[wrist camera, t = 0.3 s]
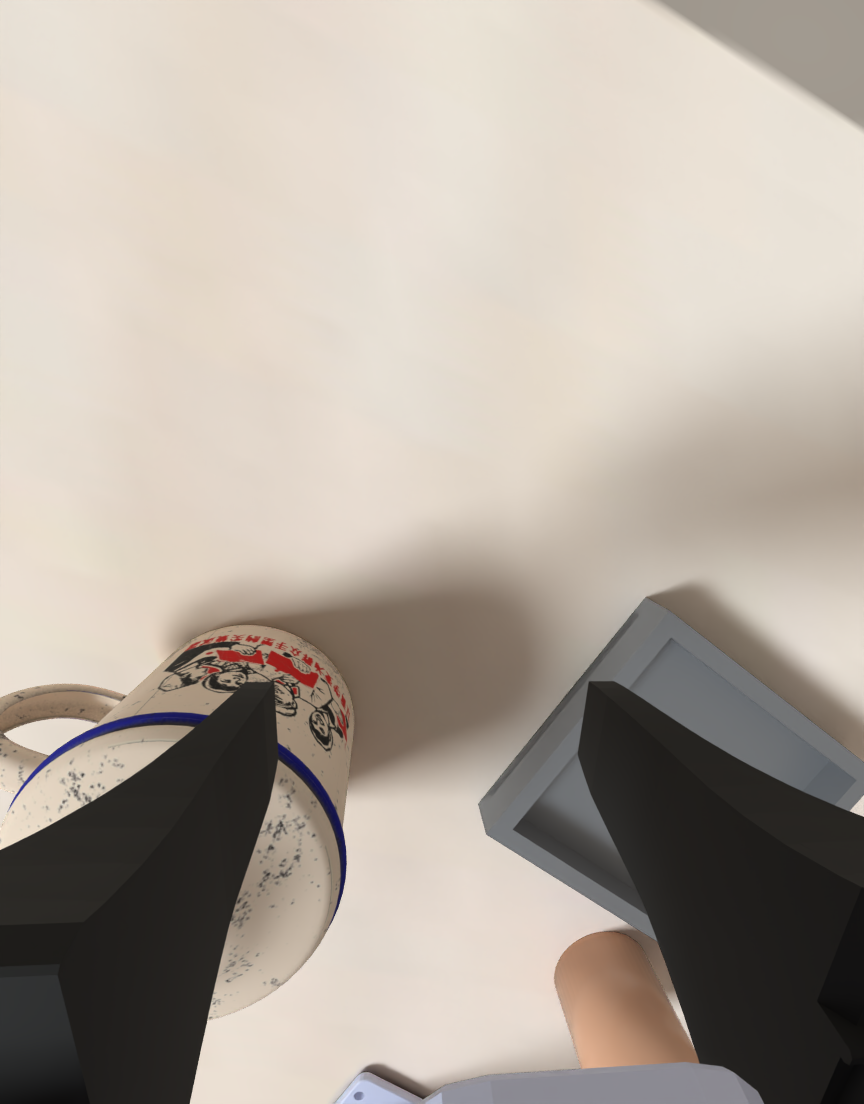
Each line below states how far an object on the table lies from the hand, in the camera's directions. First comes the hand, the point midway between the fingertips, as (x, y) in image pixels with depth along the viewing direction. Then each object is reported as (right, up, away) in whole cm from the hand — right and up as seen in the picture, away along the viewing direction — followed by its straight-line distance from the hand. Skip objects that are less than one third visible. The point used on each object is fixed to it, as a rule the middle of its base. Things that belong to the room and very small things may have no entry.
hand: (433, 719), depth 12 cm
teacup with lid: (-9, -3, +11) cm, 14 cm away
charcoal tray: (+11, -7, +13) cm, 18 cm away
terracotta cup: (+8, -17, +15) cm, 24 cm away
